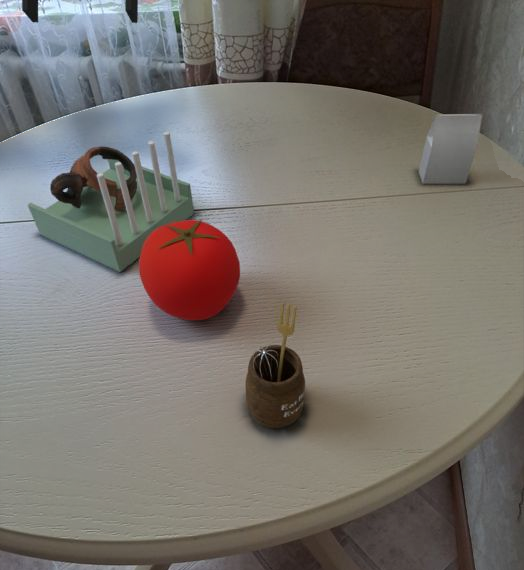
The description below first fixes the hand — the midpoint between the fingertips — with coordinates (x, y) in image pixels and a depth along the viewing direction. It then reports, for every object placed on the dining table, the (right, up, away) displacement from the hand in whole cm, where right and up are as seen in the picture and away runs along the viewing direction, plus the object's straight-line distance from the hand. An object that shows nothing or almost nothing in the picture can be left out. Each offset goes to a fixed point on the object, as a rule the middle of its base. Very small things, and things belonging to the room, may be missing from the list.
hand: (80, 17), depth 66 cm
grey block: (+53, -16, +15) cm, 57 cm away
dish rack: (+3, -25, +8) cm, 27 cm away
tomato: (+15, -38, -3) cm, 41 cm away
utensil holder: (+25, -50, -13) cm, 57 cm away
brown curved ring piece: (0, -23, +7) cm, 24 cm away
